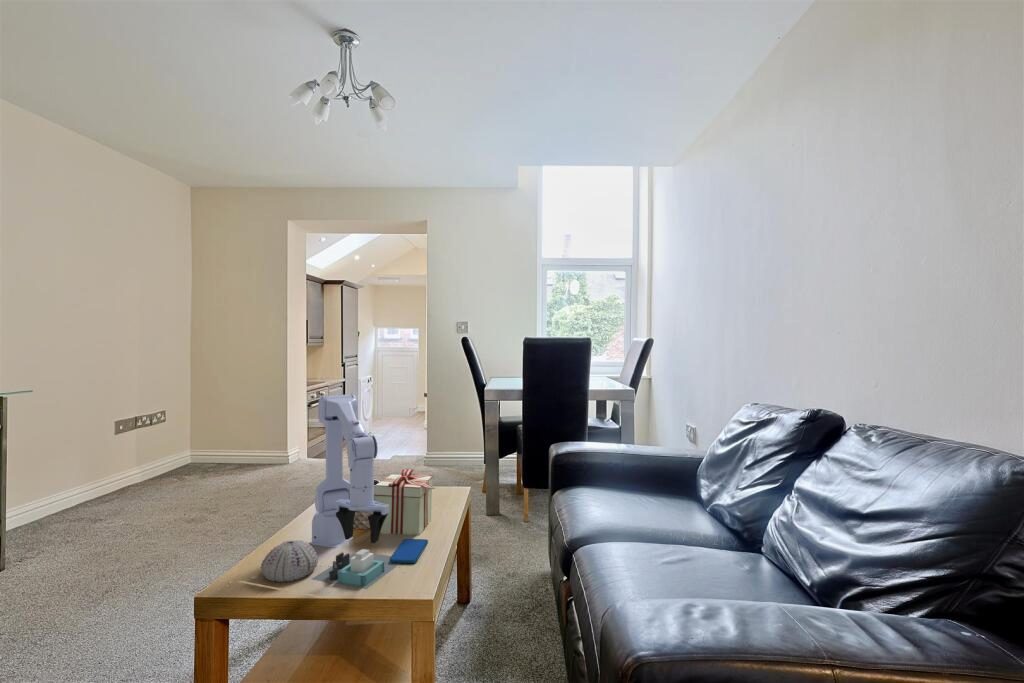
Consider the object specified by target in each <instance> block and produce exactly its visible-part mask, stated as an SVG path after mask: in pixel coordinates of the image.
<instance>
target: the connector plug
mask: <svg viewBox="0 0 1024 683" xmlns="http://www.w3.org/2000/svg"><path fill="white" fill-rule="evenodd" d="M358 551H359V552H357V553H356V554H355V556H354V557H352V558H351V572H356V573H362V574H363V573H365V572H366V571H368V570H369V569H370V568H372V567H373V566H374V554H375V553H373V552H370V549H365V548H363V549H360V550H358Z"/></svg>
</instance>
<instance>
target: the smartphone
mask: <svg viewBox="0 0 1024 683" xmlns="http://www.w3.org/2000/svg"><path fill="white" fill-rule="evenodd" d="M428 544H429V540H428V539H426V538H425V539H423V538H422V539H421V538H419V539H418V538H405V539H403V540H402V541H401V543H400V544H399V545H398V546H397V548H396V549H395V551H394V552H393V553H392V555H390V556H391V557H390V562H399V563H400V564H402V563H403V564H405V563H406V564H407V563H408V564H414V563H415V564H416V563H417V562H418V560H419V559H420V557H421V555H422V553H423V551H424V550H425V548H426V547H427V545H428Z"/></svg>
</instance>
